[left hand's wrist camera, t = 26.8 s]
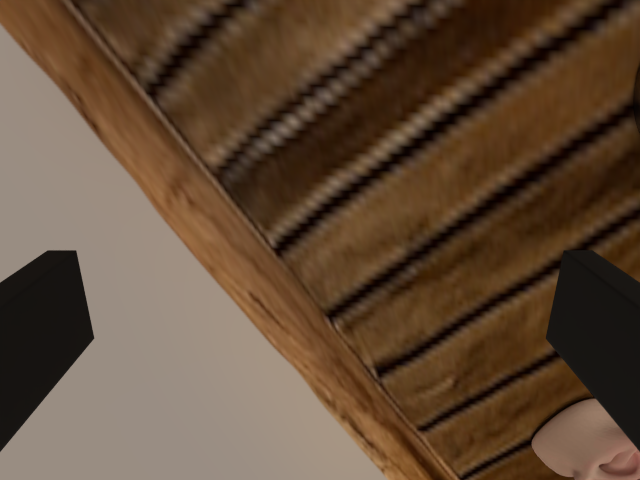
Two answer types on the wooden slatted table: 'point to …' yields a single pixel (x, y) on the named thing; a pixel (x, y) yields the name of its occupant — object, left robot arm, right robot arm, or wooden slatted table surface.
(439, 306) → the wooden slatted table surface
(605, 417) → the anatomical model
